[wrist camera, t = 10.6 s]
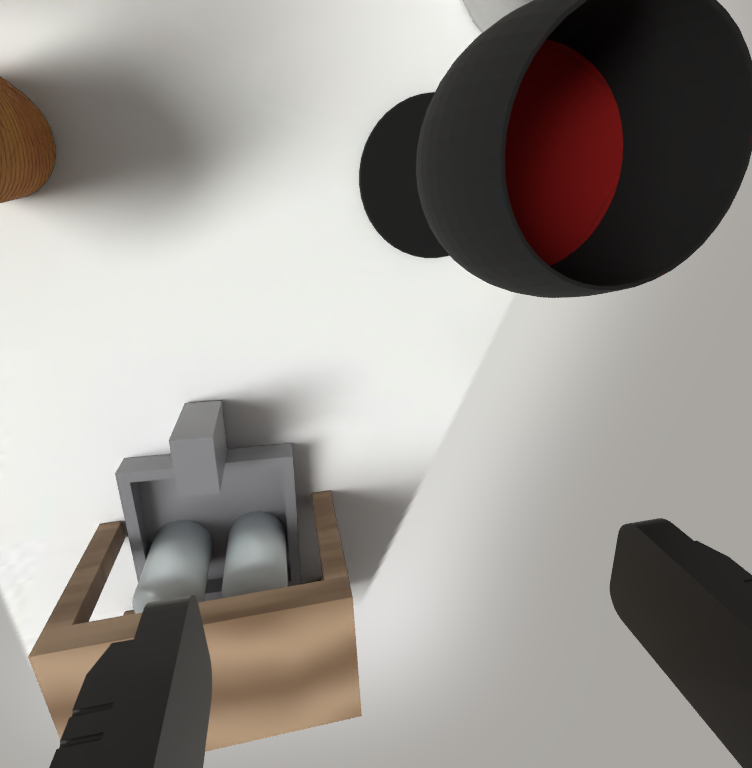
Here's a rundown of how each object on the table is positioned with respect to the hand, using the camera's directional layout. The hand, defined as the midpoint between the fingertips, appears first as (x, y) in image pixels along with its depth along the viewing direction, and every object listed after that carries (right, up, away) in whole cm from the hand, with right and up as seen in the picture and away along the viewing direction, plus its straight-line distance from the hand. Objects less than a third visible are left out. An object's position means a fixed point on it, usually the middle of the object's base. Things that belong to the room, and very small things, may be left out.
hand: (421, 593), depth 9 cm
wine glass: (+3, +18, +24) cm, 30 cm away
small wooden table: (-13, -10, +31) cm, 35 cm away
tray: (-13, -5, +29) cm, 32 cm away
